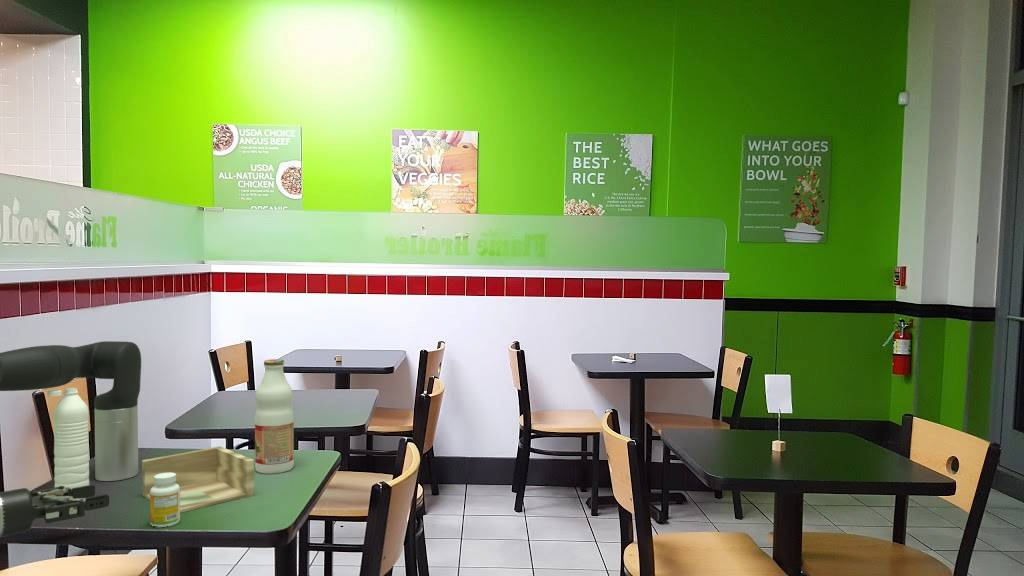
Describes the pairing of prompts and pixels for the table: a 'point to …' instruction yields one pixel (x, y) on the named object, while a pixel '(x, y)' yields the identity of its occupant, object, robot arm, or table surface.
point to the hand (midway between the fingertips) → (101, 494)
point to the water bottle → (71, 440)
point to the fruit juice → (274, 421)
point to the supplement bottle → (165, 500)
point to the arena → (203, 476)
